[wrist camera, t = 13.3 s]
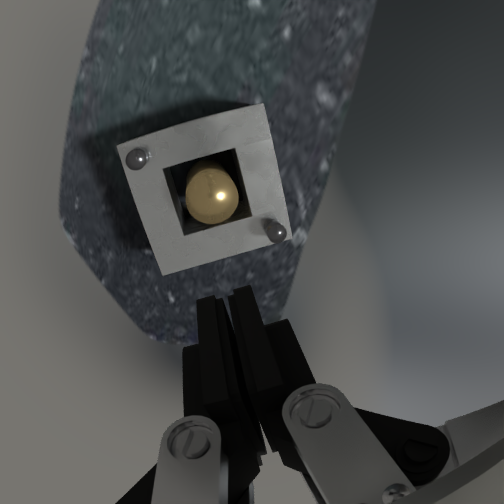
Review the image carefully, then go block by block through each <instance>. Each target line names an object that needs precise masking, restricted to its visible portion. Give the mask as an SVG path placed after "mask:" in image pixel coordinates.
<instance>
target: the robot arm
mask: <svg viewBox="0 0 504 504" xmlns="http://www.w3.org/2000/svg"><path fill="white" fill-rule="evenodd" d="M233 292H234V294H233V295H230V296H228V301H229V306H230V311H231V316H232V321H233V326H234V330H233V327H232V324H231V321H230V318H229V315H228V312H227V310H226V307H225V304H224V301H223V298H219V299H216V298H215V296H214V295H212V296H209V297H205V298H202V299H198V300H197V302H196V303H197V322H198V339H199V344H195V345H191V346H187V347H184V348H183V352H182V358H183V404H184V417H183V418H181V419H179V420H177V421H175V422H174V423H173V424H171V425H170V426H169V427H168V428H167V430H166V431H165V432H164V434H163V437H162V440H161V444H160V450H159V456H158V462H157V464H156V465H155V466H154V467H153V468H152V469H151V470H150V471H148V473H147V474H145V476H143V477H142V478H141V479H140V480H139V481H138V482H137V483H136V484H135V485H134V486H133V487H132V488H131V489H130V490H129V491H128V492H127V493H126V494H125V495H124V496H123V497H122V498H121V499H120V500H119V501H118V502H117V503H115V504H254V486H253V480H254V479H255V477H256V476H257V475H258V473H259V472H260V468H259V466H261V465H262V460H261V455H265V454H267V451H266V447H265V443H264V439H263V435H262V431H261V427H260V424H261V426H262V429H263V431H264V433H265V436H266V438H267V440H268V443H269V445H270V447H271V449H272V452H277V451H278V452H279V454H280V457H281V459H282V462H283V464H284V465H285V466H287V467H290V468H292V469H294V470H297V471H299V472H300V474H301V476H302V477H303V479H304V481H305V483H306V485H307V487H308V488H309V490H310V492H311V494H312V496H313V498H314V499H315V501H316V503H317V504H504V400H503V401H500V402H498V403H495V404H493V405H490V406H488V407H485V408H482V409H480V410H477V411H474V412H472V413H469V414H466V415H463V416H460V417H457V418H454V419H451V420H448V421H446V422H445V424H444V425H442V426H438V427H432V426H429V425H424V424H420V423H415V422H410V421H406V420H402V419H397V418H393V417H389V416H385V415H381V414H377V413H373V412H369V411H365V410H362V409H358V408H354V407H353V406H352V405H351V404H350V402H349V401H348V400H347V398H346V397H345V396H344V394H343V393H342V392H340V391H339V390H338V389H337V388H335V387H333V386H331V385H327V384H321V383H318V384H316V381H315V379H314V377H313V375H312V372H311V370H310V368H309V365H308V363H307V361H306V359H305V356H304V354H303V352H302V350H301V347H300V345H299V343H298V340H297V338H296V336H295V334H294V331H293V329H292V327H291V324H290V322H289V320H288V319H284V320H281V321H278V322H274V323H271V324H268V325H264V324H263V321H262V318H261V315H260V312H259V309H258V306H257V303H256V300H255V297H254V294H253V291H252V288H251V285H248V286H244V287H241V288H237V289H234V290H233ZM234 331H235V333H234ZM259 421H260V422H259Z"/></svg>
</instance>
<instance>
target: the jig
mask: <svg viewBox="0 0 504 504" xmlns="http://www.w3.org/2000/svg"><path fill="white" fill-rule="evenodd" d="M117 149H118V152H119V156H120V159H121V162H122V165H123V168H124V171H125V174H126V177H127V180H128V183H129V186H130V189H131V192H132V195H133V198H134V201H135V204H136V206H137V209H138V212H139V215H140V218H141V220H142V223H143V226H144V229H145V231H146V234H147V237H148V239H149V242H150V244H151V247H152V250H153V252H154V255H155V257H156V260H157V262H158V265H159V267H160V270H161V272H162V275H167V274H170V273H173V272H177V271H180V270H184V269H187V268H191V267H194V266H198V265H201V264H205V263H208V262H212V261H215V260H219V259H222V258H226V257H229V256H233V255H236V254H240V253H243V252H247V251H250V250H253V249H257V248H260V247H264V246H267V245H271V244H274V243H281V242H282V241H285V240H288V239H292V233H291V228H290V223H289V218H288V213H287V208H286V203H285V198H284V193H283V189H282V184H281V179H280V174H279V170H278V165H277V161H276V156H275V151H274V147H273V142H272V138H271V134H270V129H269V125H268V120H267V116H266V112H265V108H264V103H261V104H252V105H248V106H243V107H239V108H235V109H231V110H227V111H223V112H219V113H215V114H211V115H207V116H204V117H200V118H196V119H193V120H189V121H186V122H183V123H179V124H176V125H173V126H169V127H166V128H163V129H160V130H157V131H154V132H151V133H148V134H145V135H142V136H139V137H136V138H133V139H130V140H128V141H126V142H123V143H121V144H119V145H117ZM229 149H231V152H232V156H233V160H234V164H235V168H236V172H237V176H238V180H239V184H240V187H241V191H242V195H243V199H244V201H240V202H238V205H237V208H236V210H235V211H234V213H233V214H232V215H231V216H230V217H229V218H228V219H226V220H225V221H223V222H220V223H216V224H206V223H203V222H200V221H198V220H196V219H195V218H194V217H193V216H188V217H185V215H184V212H183V209H182V206H181V203H180V200H179V196H178V193H177V190H176V187H175V184H174V180H173V177H172V174H171V171H170V166H173V165H176V164H179V163H183V162H186V161H189V160H193V159H196V158H200V157H203V156H207V155H210V154H214V153H217V152H221V151H225V150H229Z"/></svg>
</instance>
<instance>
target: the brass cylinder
mask: <svg viewBox="0 0 504 504" xmlns="http://www.w3.org/2000/svg"><path fill="white" fill-rule="evenodd" d="M238 198H239V197H238V191H237V188H236V186H235V184H234V183H233V181H232V179H231V178H230V176H229V174H228V173H227V171H226V169H225V168H224V167H223V165H222V164H220V163H219V162H217V161H215V160H211V159H204V160H200V161H198V162H196V163H195V164H194V165H192V166H191V168H190V169H189V171H188V173H187V177H186V206H187V209H188V211H189V212H190V214H191V215H192V216H193V217H194V218H195V219H196V220H198V221H200V222H203V223H206V224H216V223H220V222H223V221H225V220H226V219H228V218H229V217H230V216H231V215H232V214H233V213H234V211H235V210H236V208H237V205H238Z"/></svg>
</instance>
